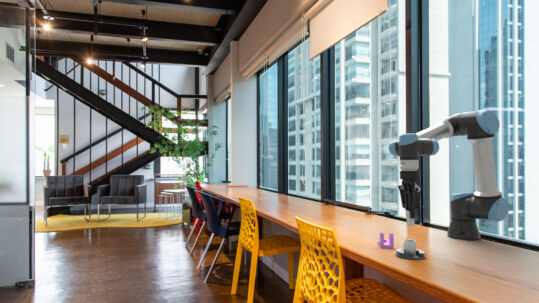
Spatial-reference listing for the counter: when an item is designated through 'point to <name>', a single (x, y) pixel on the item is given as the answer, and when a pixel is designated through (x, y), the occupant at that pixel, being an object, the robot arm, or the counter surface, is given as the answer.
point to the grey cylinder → (409, 246)
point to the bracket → (386, 241)
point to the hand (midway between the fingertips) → (410, 225)
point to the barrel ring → (410, 254)
